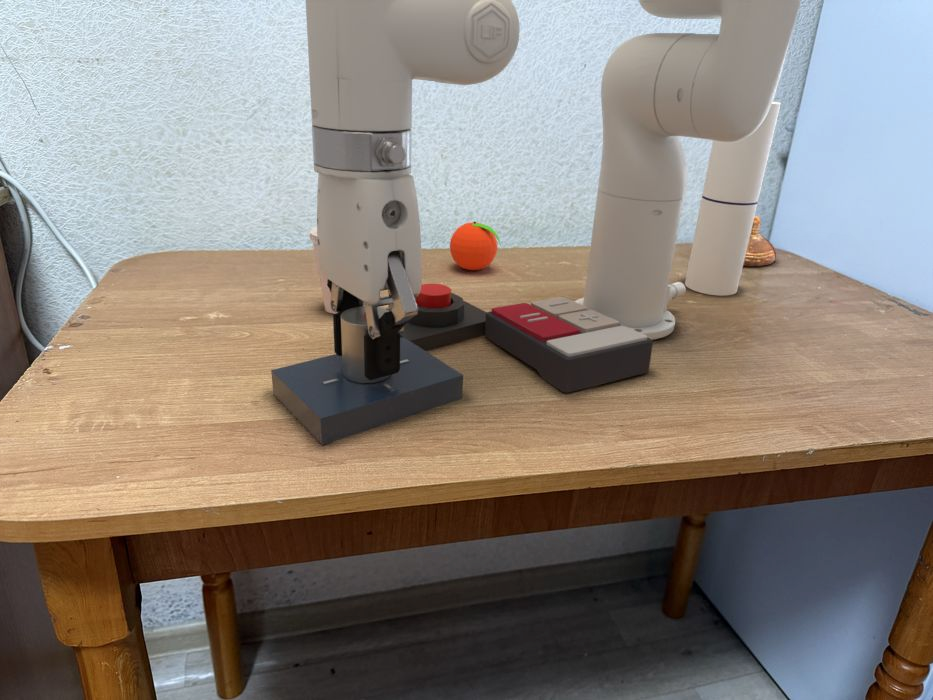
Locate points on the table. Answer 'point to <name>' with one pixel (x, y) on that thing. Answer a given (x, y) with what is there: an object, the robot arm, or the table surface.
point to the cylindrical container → (729, 209)
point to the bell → (758, 248)
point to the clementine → (474, 246)
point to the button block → (445, 324)
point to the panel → (363, 393)
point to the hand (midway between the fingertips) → (366, 361)
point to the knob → (356, 343)
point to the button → (434, 296)
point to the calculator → (569, 343)
